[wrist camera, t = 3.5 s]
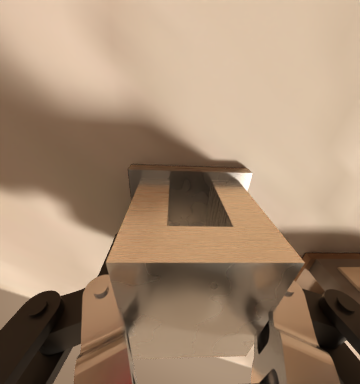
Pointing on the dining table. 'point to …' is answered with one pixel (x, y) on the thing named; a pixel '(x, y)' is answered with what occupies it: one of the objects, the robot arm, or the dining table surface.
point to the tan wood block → (198, 273)
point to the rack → (331, 273)
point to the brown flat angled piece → (187, 188)
